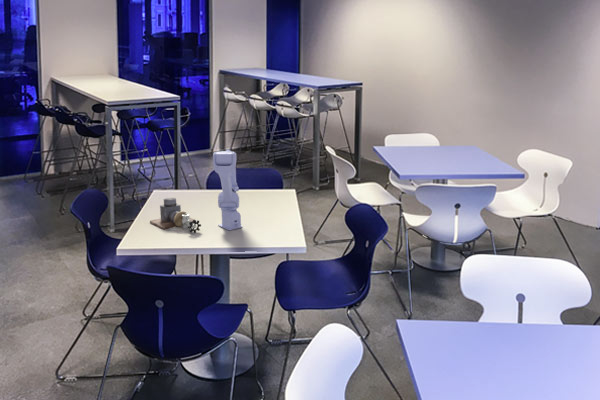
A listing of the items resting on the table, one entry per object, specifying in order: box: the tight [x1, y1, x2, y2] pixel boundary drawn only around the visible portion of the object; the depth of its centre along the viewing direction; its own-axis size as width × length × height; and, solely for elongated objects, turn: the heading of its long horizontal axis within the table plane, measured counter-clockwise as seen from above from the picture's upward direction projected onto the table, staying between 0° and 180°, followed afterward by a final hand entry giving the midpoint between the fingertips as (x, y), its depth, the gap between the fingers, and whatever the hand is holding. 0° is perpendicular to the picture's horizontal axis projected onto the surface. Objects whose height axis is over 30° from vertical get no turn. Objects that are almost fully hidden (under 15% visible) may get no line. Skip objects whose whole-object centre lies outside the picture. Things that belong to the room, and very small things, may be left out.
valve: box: [181, 213, 202, 234], centre depth 300 cm, size 7×7×12 cm
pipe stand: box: [149, 197, 195, 230], centre depth 309 cm, size 16×18×12 cm
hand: (231, 200), depth 314 cm, fingers closed
